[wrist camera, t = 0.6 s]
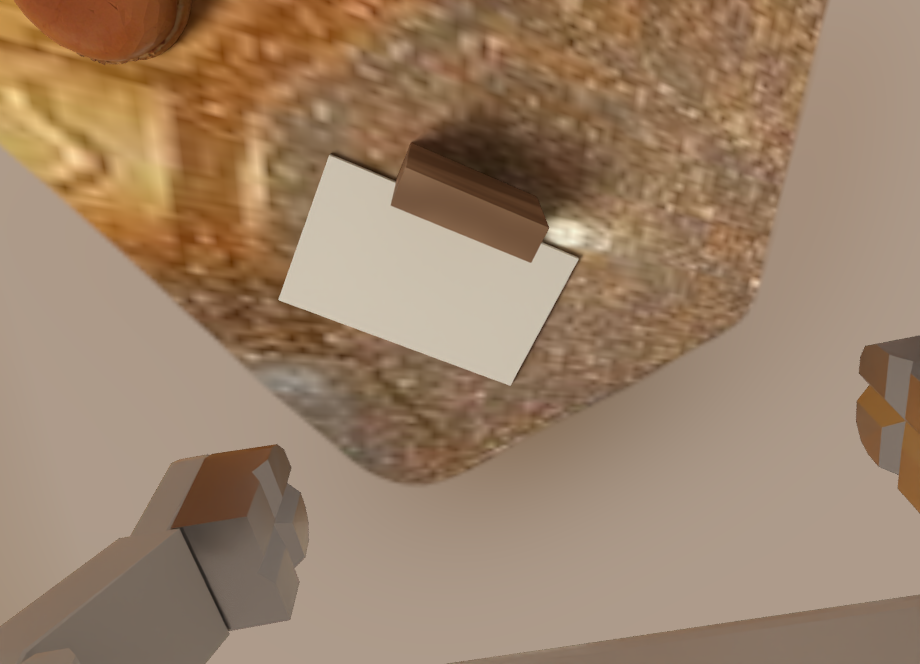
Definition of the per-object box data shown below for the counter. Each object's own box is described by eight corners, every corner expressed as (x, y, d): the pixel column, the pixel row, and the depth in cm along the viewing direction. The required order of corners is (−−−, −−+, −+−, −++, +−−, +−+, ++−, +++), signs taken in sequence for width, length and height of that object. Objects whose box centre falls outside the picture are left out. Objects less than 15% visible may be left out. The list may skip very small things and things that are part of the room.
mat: (330, 153, 46) (329, 155, 46) (577, 256, 49) (578, 259, 49) (279, 297, 50) (278, 300, 50) (509, 382, 54) (510, 385, 54)
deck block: (410, 142, 46) (405, 167, 40) (536, 196, 48) (549, 227, 42) (397, 176, 47) (390, 205, 41) (521, 228, 49) (531, 263, 43)
